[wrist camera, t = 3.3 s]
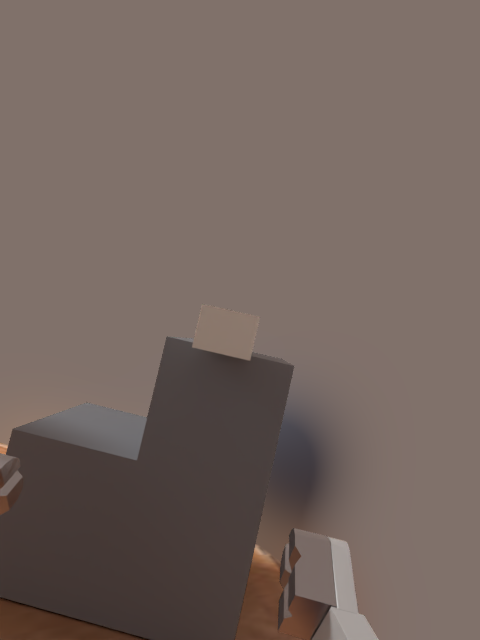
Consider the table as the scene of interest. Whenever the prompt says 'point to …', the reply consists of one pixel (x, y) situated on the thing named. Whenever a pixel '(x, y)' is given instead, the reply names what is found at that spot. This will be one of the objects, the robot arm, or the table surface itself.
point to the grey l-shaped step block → (149, 500)
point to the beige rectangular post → (226, 332)
